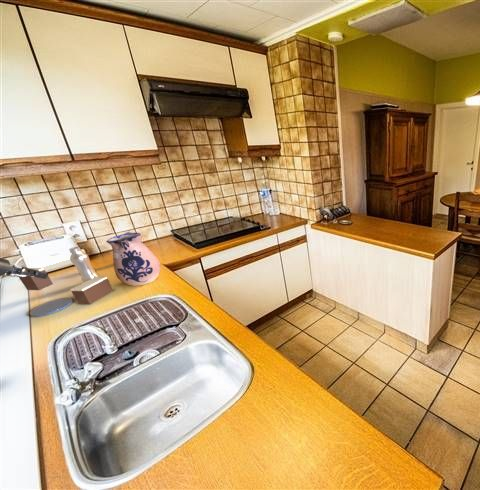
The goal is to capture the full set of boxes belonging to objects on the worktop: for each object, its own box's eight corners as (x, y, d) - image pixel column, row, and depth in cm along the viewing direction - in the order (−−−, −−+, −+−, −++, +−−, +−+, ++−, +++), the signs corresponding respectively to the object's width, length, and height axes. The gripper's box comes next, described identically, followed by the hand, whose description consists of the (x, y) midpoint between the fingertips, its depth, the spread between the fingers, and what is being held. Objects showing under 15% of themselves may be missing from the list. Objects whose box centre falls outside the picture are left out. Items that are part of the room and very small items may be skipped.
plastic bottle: (93, 285, 136) (74, 250, 128) (80, 286, 136) (60, 251, 128) (105, 279, 142) (87, 245, 134) (92, 279, 142) (74, 245, 134)
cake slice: (39, 290, 112) (28, 273, 109) (27, 290, 113) (16, 273, 109) (53, 283, 117) (43, 267, 113) (41, 283, 117) (31, 267, 114)
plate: (26, 321, 111) (25, 319, 110) (35, 307, 120) (33, 305, 120) (70, 308, 118) (69, 306, 118) (75, 296, 127) (74, 294, 127)
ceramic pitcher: (122, 295, 126) (98, 247, 116) (122, 279, 141) (101, 235, 131) (166, 281, 136) (148, 236, 126) (162, 267, 151) (145, 226, 141)
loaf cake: (90, 304, 120) (81, 289, 117) (78, 304, 121) (69, 289, 117) (113, 290, 130) (106, 276, 127) (102, 290, 131) (95, 276, 127)
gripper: (5, 255, 99) (58, 268, 115) (-27, 255, 101) (29, 268, 117) (-5, 275, 97) (50, 285, 112) (-38, 274, 98) (21, 284, 114)
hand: (39, 276), depth 114 cm, fingers closed on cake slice, 6 cm apart
